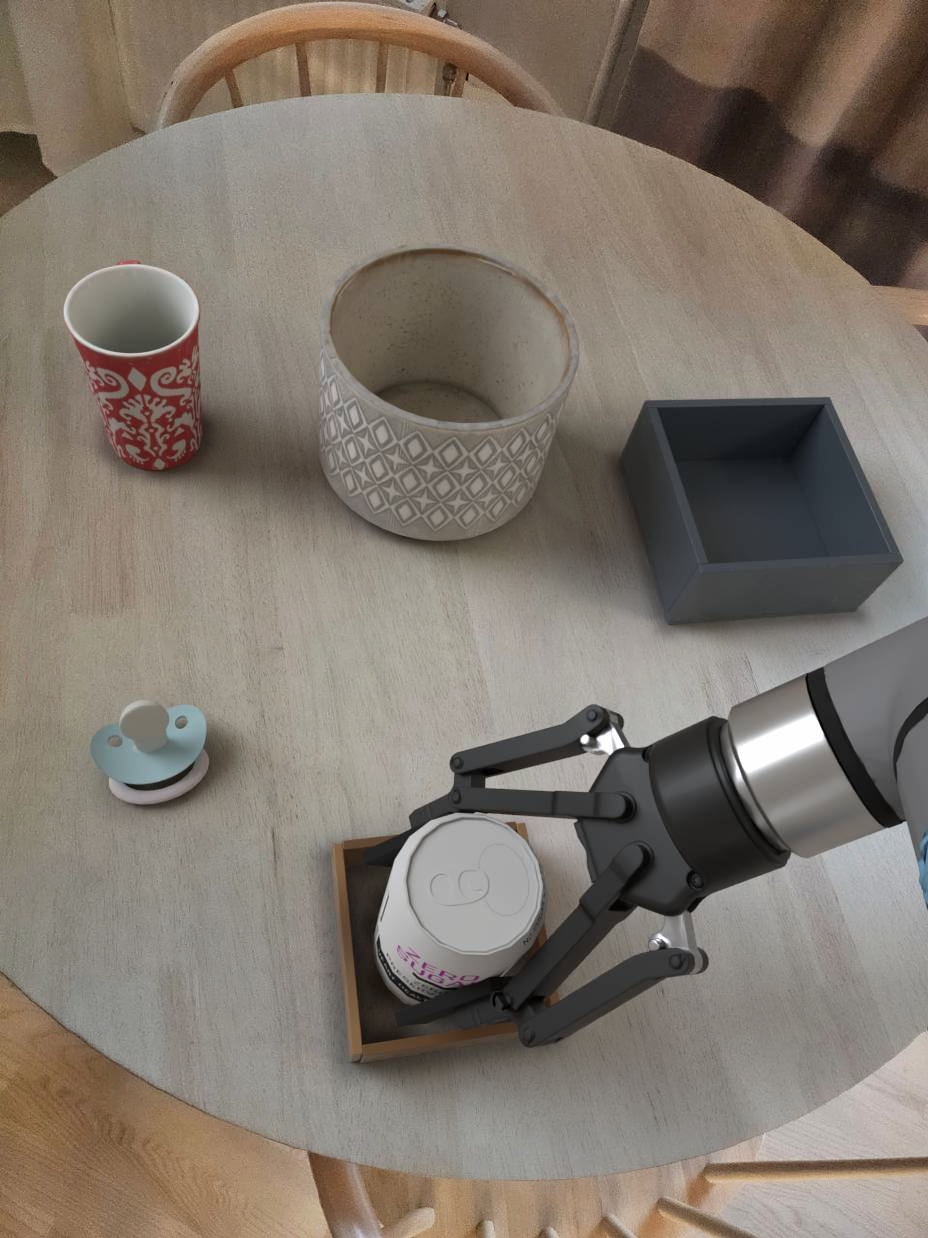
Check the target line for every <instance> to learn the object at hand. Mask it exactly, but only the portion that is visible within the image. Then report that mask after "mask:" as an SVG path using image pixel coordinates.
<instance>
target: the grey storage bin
mask: <svg viewBox="0 0 928 1238" xmlns="http://www.w3.org/2000/svg"><path fill="white" fill-rule="evenodd" d="M634 422H635V423H634V425H633V427H632V429H631V431H630V433H629V435H628V438H627V440H626V443H625V445H624V447H623V450H622V452H621V454H620V457H619V459H618V463H619V467H620V470H621V473H622V477H623V481H624V485H625V486H626V490H627V493H628V496H629V497H628V498H629V500H630V504H631V507H632V510H633V515H634V517H635V520H636V523H637V526H638V531H639V534H640V536H641V540H642V543H643V547H644V550H645V551H644V552H645V553H646V557H647V561H648V564H649V567H650V570H651V574H652V577H653V581H654V584H655V588H656V590H657V594H658V597H659V600H660V604H661V607H662V611H663V613H664V618H665V621H666V623H667V625H668V626H669V625H682V624H683V625H684V624H685V625H686V624H698V623H712V622H728V621H739V620H740V621H741V620H755V619H756V620H757V619H768V618H769V619H770V618H782V617H783V618H784V617H785V618H786V617H797V616H799V617H800V616H813V615H827V614H839V613H854V612H856V611H857V610H858V609H859V608H860V607H861V606H862V605H863V604H864V603H865V601H866V600H868V599H869V598H870V597H871V596H872V594H874V592H876V590H877V589H879V587H880V586H882V584H884V582H885V581H887V579H889V577H890V576H892V574H893V573H894V572H895V571H896V570H898V568H899V567H900V566H901V565H902V564H903V563H904V562H905V559H904V558H903V555H902V554H901V551H900V549H899V547H898V545H897V542H896V540H895V538H894V535H893V534H892V531H891V529H890V527H889V525H888V523H887V520H886V518H885V516H884V514H883V512H882V509H881V507H880V505H879V503H878V501H877V498H876V496H875V494H874V492H873V490H872V487H871V485H870V484H869V481H868V479H867V476H866V474H865V472H864V470H863V467H862V465H861V463H860V461H859V458H858V457H857V454H856V452H855V450H854V448H853V446H852V443H851V440H850V439H849V437H848V434H847V432H846V430H845V428H844V425H843V424H842V421H841V419H840V417H839V415H838V413H837V410H836V408H835V405H834V403H833V400H832V399H831V397H830V396H810V397H809V396H808V397H807V396H806V397H802V396H801V397H749V398H748V397H747V398H701V399H699V398H697V399H693V398H691V399H647V400H644V402H643V404H642V406H641V409H640V411H639V413H638V415H637V418H636V420H635V421H634Z"/></svg>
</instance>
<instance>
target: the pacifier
mask: <svg viewBox="0 0 928 1238" xmlns="http://www.w3.org/2000/svg"><path fill="white" fill-rule="evenodd" d="M183 718H184V719H186V720H187V722H186V724H185V726H184V727H182V728H178V727H177V726H176V724H177V722H178V721H179V720H180V719H183ZM207 728H208V727H207V721H206V718H205V715H204V714H203V712H202V711H201V709H199V708H198V707H196V706H195V705H192V704H178V705H175V706H172V707H170V708H168V709H166V708H165V707H164V706H163V704H161V703H159V702H157V701H156V700H153V699H139V700H135V701H133V702H131V703H130V704H129V705H127V706H126V707H125V708H124V709H123V710H122V713H121V714H120V717H119V721H118V722H113V723H109V724H107V725H105V726H103V727H101V728H99V729H98V730H97V732H95V733H94V735H93V736H92V738H91V740H90V745H89V749H90V755H91V757H92V759H93V761H94V763H95V765H96V766H97V767H98V768H99V769H100V770H101V771H102V772H103V773H104V775H106V776H107V777H108V787H109V789H110V791H111V793H112V795H114V796H115V798H117V799H119V800H120V801H123V802H126V803H129V804H134V805H141V806H142V805H155V804H159V803H163V802H164V803H165V802H169V801H171V800H173V799H176V798H178V797H180V796H182V795H184V794H187V792H189V791H191V790H193V788H194V787H195V786H197V785H198V784H199V783H200V782H201V781H202V779H203V778H204V777H205V775H206V774H207V771H208V769H209V766H210V759H209V755H208V753H207V751H206V750H205V748H204V746H205V744H206V739H207V733H208V729H207ZM112 738H119V739H120V740H121V741H122V742H121V745H119V746H112V745H110V743H109V742H110V740H111V739H112ZM191 765H193V766H192V769H191V770H190V771H189V772H188V773H187V774H186V775H185V776H184V777H183V778H181V779H180V780H179V781H177V782H175V783H173V784H171V785H168V786H166V787H163V788H158V789H154V790H153V789H152V790H141V789H134V788H132V787H129V786H128V785H126V784H129V785H151V784H156V783H159V782H163V781H166V780H169V779H171V778H174V777H175V776H177V775H179V774H181V773H183V772H184V771H185V770H186V769H188V768H189V767H190V766H191Z"/></svg>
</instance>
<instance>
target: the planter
mask: <svg viewBox="0 0 928 1238" xmlns="http://www.w3.org/2000/svg"><path fill="white" fill-rule="evenodd" d="M575 325H576V324H575V323H574V320H573V319H572V317H571V315H570V313H569V311H568V309H567V307H566V306H565V305H564V304H563V302H562V301H561V299H560V298H559V297H558V296H557V294H556V293H554V291H552V289H551V288H550V287H549V286H548V285H547V284H546V283H545V282H543V281H542V280H540V279H539V278H538V277H537V276H536V275H534V274H533V273H531V272H530V271H529V270H526V268H523V267H522V266H521V265H519V264H517V263H515V262H512V261H510V260H509V259H507V258H504V257H503V256H500V255H497V254H494V253H492V252H489V251H486V250H484V249H479V248H475V247H470V246H466V245H461V244H452V243H447V242H446V243H445V242H420V243H419V242H418V243H407V244H403V245H397V246H393V247H388V248H386V249H383V250H380V251H377V252H374V253H372V254H370V255H367V256H366V257H364V258H362V259H360V260H358V261H357V262H355V263H354V264H353V265H352V266H350V267H348V268H347V269H346V270H345V271H344V272H343V273H342V274H341V275H339V277H338V278H337V279H336V280H335V281H334V283H333V284H332V286H331V287H330V289H329V291H328V292H327V294H326V296H325V299H324V302H323V305H322V308H321V314H320V323H319V358H318V359H319V362H318V364H319V366H318V403H317V404H318V410H317V411H318V412H317V450H318V451H317V452H318V459H319V462H320V465H321V466H320V467H321V469H322V472H323V473H324V476H325V477H326V480H327V481H328V483H329V485H330V487H331V488H332V489H333V491H334V492H335V493H336V495H337V497H339V499H340V500H341V501H343V503H344V504H346V506H347V507H349V509H351V511H353V512H354V513H355V514H357V515H358V516H360V517H361V518H363V519H364V520H365V521H367V522H369V523H371V524H373V525H375V526H377V527H378V528H381V529H383V530H385V531H388V532H390V533H394V534H396V535H400V536H403V537H407V538H412V539H416V540H422V541H423V540H424V541H433V542H434V541H435V542H445V541H446V542H447V541H459V540H465V539H470V538H475V537H479V536H481V535H484V534H487V533H490V532H492V531H495V530H496V529H499V528H500V527H502V526H504V525H505V524H507V523H508V522H509V521H511V520H512V519H513V518H515V517H517V516H518V514H519V513H520V512H521V511H522V510H523V509H524V508H525V507H526V506H527V505H528V503H529V502H530V500H531V498H532V497H533V495H534V494H535V492H536V488H537V487H538V483H539V482H540V479H541V475H542V472H543V469H544V467H545V464H546V461H547V459H548V455H549V452H550V449H551V447H552V443H553V441H554V438H555V434H556V431H557V428H558V426H559V424H560V420H561V417H562V415H563V411H564V408H565V405H566V402H567V400H568V397H569V393H570V390H571V388H572V386H573V382H574V380H575V377H576V374H577V370H578V366H579V360H580V345H579V344H580V342H579V336H578V332H577V328H576V326H575Z"/></svg>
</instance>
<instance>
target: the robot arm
mask: <svg viewBox="0 0 928 1238" xmlns="http://www.w3.org/2000/svg"><path fill="white" fill-rule="evenodd" d="M624 727H625V719H624V717H623V716H622V715H621V714H620V713H619V712H616V711H614V710H611V709H609V708H607V707H604V706H601V705H598V704H596V703H592V704H589V705H587V706H586V707H584V708H583V709H582V710H580V711H579V712H577V713H576V714H574V715H573V716H572V717H570V718H568V720H566V721H565V722H563V723H561V724H557V725H553V726H550V727H545V728H542V729H538V730H534V731H531V732H527V733H524V734H520V735H517V736H512V737H509V738H505V739H501V740H497V741H493V742H491V743H487V744H483V745H479V746H475V747H471V748H468V749H465V750H464V749H463V750H460V751H457V752H455V753H453V754H452V756H451V757H450V759H449V769H450V771H451V772H452V773H453V784H452V788H451V789H450V791H448V793H446V794H444V795H442V796H440V797H438V798H437V799H434V800H431V801H430V802H428V803H425V804H424V805H422V806H420V807H418V808H416V809H414V810H413V811H412V812H411V813H410V814H409V815H408V820H409V824H410V829H408V830H405V831H403V832H401V833H399V835H398V834H396V835H397V836H395V837H393V838H391V839H388V840H386V841H384V842H382V843H380V844H378V845H376V846H374V847H371V848H369V849H367V850H365V851H363V852H362V857H363V862H364V865H363V866H373V867H374V866H375V867H385V868H392V867H393V864H394V861H395V859H396V857H397V855H398V854H399V852H400V851H401V849H402V848H403V846H404V844H405V843H406V841H407V840H408V838H409V837H410V836H411V835H412V834H414V833H415V832H416V831H418V830H419V829H420V828H422V827H423V826H424V825H425V824H427V823H428V822H429V821H431V820H434V819H437V818H441V817H444V816H447V815H451V814H454V813H469V814H483V815H488V814H491V815H504V816H505V815H506V816H507V815H508V816H520V817H534V818H535V817H536V818H550V819H552V818H553V819H565V820H576V821H575V822H573V826H574V831H575V833H576V837H577V839H578V840H579V842H580V844H581V845H582V847H583V849H584V851H585V856H586V868H587V872H588V875H589V878H590V881H591V883H592V884H591V885H590V886H589V887H588V888H587V889H586V891H585V892H584V893H583V894H582V895H581V896H580V898H579V900H578V905H577V907H576V908H574V910H572V912H571V913H570V914H569V915H568V916H567V917H566V919H564V920H563V922H561V924H560V925H559V926H558V927H557V928H556V929H555V931H553V933H551V935H550V936H549V937H547V938H548V940H547V941H546V942H545V943H544V944H543V945H542V946H541V947H540V948H539V950H538V951H537V952H536V953H535V954H534V955H533V956H532V957H531V958H530V959H529V961H528V962H527V961H526V963H524V965H523V966H522V967H521V968H520V969H519V970H518V971H517V972H516V974H515V975H505V976H504V975H503V976H502V977H489V978H486V979H484V980H482V981H479V982H477V983H473V984H470V985H467V986H465V987H462V988H459V989H456V990H454V991H451V992H448V993H446V994H443V995H440V996H437V997H435V998H432V999H429V1000H427V1001H424V1002H421V1003H418V1004H416V1005H413V1006H408V1007H404V1008H402V1009H399V1010H397V1011H395V1012H393V1018H394V1023H395V1028H402V1027H404V1028H405V1027H410V1026H418V1025H427V1024H430V1023H433V1022H435V1021H439V1020H441V1019H444V1018H447V1017H450V1016H452V1015H453V1016H454V1020H455V1021H454V1022H455V1026H456V1029H457V1030H461V1029H464V1030H468V1029H475V1028H481V1027H484V1026H487V1025H493V1024H497V1023H498V1022H501V1021H504V1020H507V1019H510V1020H512V1021H514V1022H515V1023H516V1025H517V1027H518V1028H519V1038H518V1039H519V1042H520V1043H521V1045H523V1046H524V1047H525V1048H528V1049H533V1048H539V1047H544V1046H550V1045H554V1044H558V1043H560V1042H562V1041H563V1040H565V1039H567V1038H569V1037H570V1036H573V1035H574V1034H575V1033H577V1032H579V1031H580V1030H582V1029H584V1028H586V1027H588V1026H589V1025H591V1024H592V1023H594V1022H595V1021H597V1020H599V1019H600V1018H602V1017H604V1016H605V1015H607V1014H609V1013H610V1012H612V1011H614V1010H616V1009H618V1008H619V1007H621V1006H622V1005H624V1004H625V1003H626V1004H627V1003H628V1002H629V1001H631V1000H633V999H634V998H636V997H637V996H639V995H641V994H642V993H644V992H646V991H648V990H649V989H651V988H653V987H654V986H656V985H658V984H659V983H661V982H663V981H664V980H666V979H669V978H670V979H671V978H677V977H678V978H679V977H684V976H692V975H700V974H703V973H704V972H705V971H707V970H708V967H709V965H710V958H709V956H708V953H707V952H706V951H705V950H704V949H703V948H701V947H699V946H698V944H697V943H698V942H697V939H696V934H695V928H694V924H693V917H692V913H693V912H695V910H696V909H697V908H698V906H699V905H700V904H701V903H702V901H704V900H705V899H706V898H707V897H709V896H711V895H712V894H715V893H717V892H719V891H723V890H726V889H728V888H731V887H734V886H737V885H739V884H742V883H744V882H747V881H749V880H752V879H755V878H757V877H760V876H764V875H766V874H769V873H772V872H774V871H777V870H780V869H782V868H784V867H786V865H787V864H788V861H789V859H790V858H791V856H792V854H793V855H795V856H798V857H800V858H804V859H810V858H812V857H815V856H817V855H821V854H822V853H825V852H829V851H831V850H833V849H836V848H839V847H842V846H845V845H847V844H850V843H853V842H855V841H858V840H860V839H863V838H865V837H867V836H870V835H874V834H875V833H879V832H881V831H884V830H886V829H891V828H894V827H896V826H899V825H902V824H904V823H906V826H907V829H908V833H909V836H910V840H911V844H912V847H913V851H914V855H915V860H916V863H917V866H918V867H917V868H918V871H919V877H918V882H919V886H920V889H921V891H922V896H923V899H924V901H925V902H924V903H925V906H926V910H927V911H928V615H927V616H924V617H923V618H920V619H917V620H916V621H914V622H912V623H910V624H908V625H905V626H903V627H901V628H899V629H897V630H895V631H893V632H891V633H889V634H886V635H885V636H882V637H881V638H878V639H876V640H874V641H872V642H870V643H867V644H866V645H864V646H861V647H860V648H857V649H855V650H853V651H851V652H849V653H847V654H845V655H843V656H840V657H838V658H836V659H834V660H832V661H830V662H827V663H826V664H825V665H823V666H821V667H818V668H816V669H814V670H811V671H809V672H806V673H804V674H801V675H799V676H797V677H795V678H792V679H790V680H788V681H786V682H784V683H781V684H779V685H777V686H775V687H772V688H770V689H768V690H766V691H763V692H761V693H759V694H756V695H755V696H753V697H750V698H748V699H745V700H743V701H741V702H738V703H737V704H734V705H733V706H731V707H730V710H729V713H728V715H727V718H724V717H719V716H716V715H711V716H709V717H707V718H704V719H701V720H700V721H698V722H696V723H694V724H691V725H689V726H686V727H685V728H682V729H680V730H678V731H675V732H674V733H671V734H670V735H667V736H665V737H662V738H661V739H658V740H656V741H654V742H653V743H651V744H649V745H647V746H641V747H635V746H631V744H630V742H629V741H628V738H627V737H626V735H625V733H624V731H623V729H624ZM587 753H589V754H592V755H595V756H604V755H606V754H607V756H608V757H607V759H606V760H605V762H604V764H603V766H602V767H601V769H600V771H599V772H598V774H597V776H596V778H595V779H594V781H593V783H592V784H591V786H590V788H589V789H588V791H574V790H573V791H572V790H533V789H516V788H515V789H514V788H497V787H496V788H495V787H494V788H493V787H486V783H487V782H486V779H489V778H492V777H498V776H501V775H504V774H505V775H506V774H508V773H513V772H517V771H521V770H524V769H529V768H534V767H536V766H540V765H545V764H548V763H549V764H550V763H553V762H558V761H561V760H565V759H569V758H573V757H577V756H581V755H584V754H587ZM637 908H642V909H644V910H647V911H649V912H652V913H655V914H658V915H661V916H663V920H664V921H663V926H662V927H661V929H660V930H658V931H656V932H654V933H652V935H650V936H649V939H648V943H647V948H648V951H643V952H640V953H637V954H635V955H632V956H630V957H629V958H626V959H625V960H622V962H619V963H618V964H617V965H615V966H613V967H611V968H609V969H608V970H607V971H605V972H604V973H601V974H600V975H598V976H597V977H595V978H594V979H592V980H591V981H588V982H587V983H586V984H584V985H582V986H580V987H579V988H578V989H576V990H574V991H572V992H571V993H570V994H568V995H566V996H564V997H563V998H561V999H559V1000H560V1001H558V1002H556V1003H555V1004H553V1005H551V1006H550V1007H548V1008H546V1006H545V1004H544V1003H545V1001H546V1000H547V999H548V998H549V997H550V996H551V995H552V994H553V993H554V992H555V991H556V990H558V989H559V988H560V987H561V985H562V984H563V983H564V982H565V981H566V980H567V979H568V978H569V977H570V976H571V975H572V974H573V973H574V971H575V970H576V969H577V968H578V967H579V966H580V965H581V964H582V962H583V961H584V960H585V959H586V958H587V957H588V956H589V955H590V954H591V953H592V952H593V951H594V950H595V949H596V947H597V946H598V945H599V944H600V943H601V942H602V941H603V940H604V939H605V937H606V936H607V935H608V934H609V933H611V931H612V930H613V929H614V928H615V927H616V926H617V925H618V924H619V923H622V922H623V921H625V920H626V919H628V917H629V916H630V915H631V914H632V913H633V912H634V911H635V910H636V909H637Z"/></svg>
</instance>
